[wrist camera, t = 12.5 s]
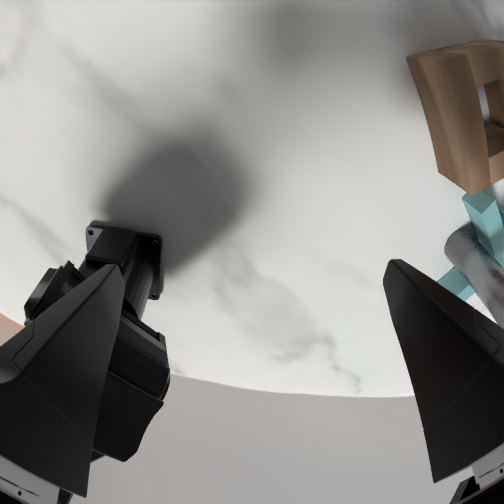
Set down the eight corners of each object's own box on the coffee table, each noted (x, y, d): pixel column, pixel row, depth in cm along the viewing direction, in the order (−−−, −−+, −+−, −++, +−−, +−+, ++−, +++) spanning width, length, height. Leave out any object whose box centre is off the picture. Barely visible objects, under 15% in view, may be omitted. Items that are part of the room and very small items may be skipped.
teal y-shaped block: (429, 295, 27) (441, 314, 25) (465, 183, 20) (485, 198, 18) (488, 285, 28) (500, 300, 25) (523, 191, 21) (541, 204, 18)
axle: (451, 264, 25) (519, 359, 14) (439, 247, 24) (515, 349, 13) (474, 241, 24) (548, 330, 13) (463, 222, 22) (548, 316, 12)
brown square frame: (438, 172, 20) (471, 195, 16) (405, 57, 15) (443, 59, 11) (507, 139, 18) (540, 156, 14) (486, 39, 13) (523, 43, 9)
